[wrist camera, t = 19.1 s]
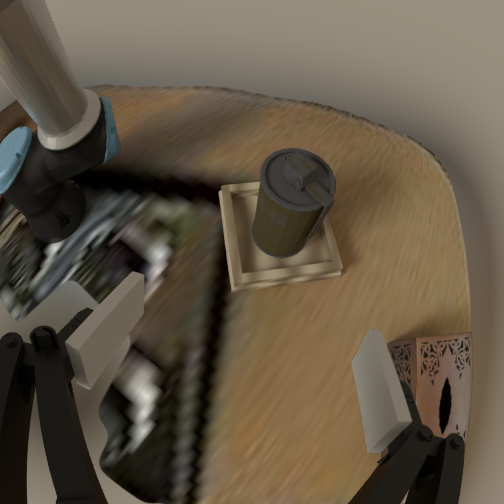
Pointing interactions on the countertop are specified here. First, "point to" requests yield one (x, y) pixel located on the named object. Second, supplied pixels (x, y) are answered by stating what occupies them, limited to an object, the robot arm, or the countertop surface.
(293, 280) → the square tray
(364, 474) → the countertop surface
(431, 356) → the tissue box cover
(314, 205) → the canister
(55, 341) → the robot arm
